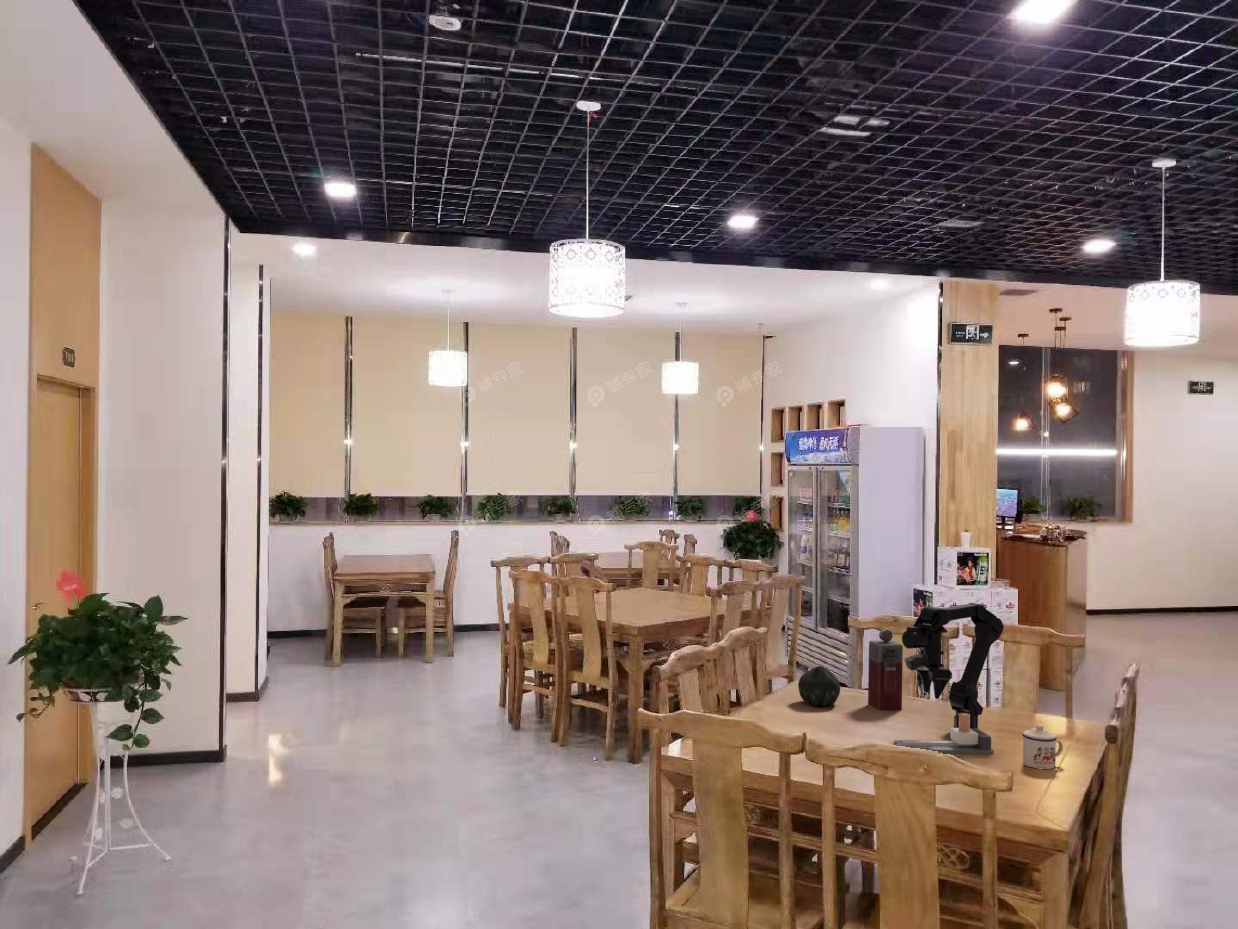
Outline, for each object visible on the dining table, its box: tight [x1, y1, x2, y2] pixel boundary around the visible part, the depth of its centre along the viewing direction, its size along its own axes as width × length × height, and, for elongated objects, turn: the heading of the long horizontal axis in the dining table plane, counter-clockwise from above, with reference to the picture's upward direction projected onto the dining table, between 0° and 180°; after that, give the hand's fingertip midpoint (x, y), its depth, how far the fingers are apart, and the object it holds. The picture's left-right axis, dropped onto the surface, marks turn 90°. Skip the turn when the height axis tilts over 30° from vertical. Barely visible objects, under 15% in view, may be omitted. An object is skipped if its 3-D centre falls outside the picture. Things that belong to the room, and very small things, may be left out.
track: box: [893, 727, 994, 755], centre depth 290 cm, size 27×10×5 cm, turn 92°
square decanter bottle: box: [867, 628, 904, 712], centre depth 340 cm, size 9×11×28 cm
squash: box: [797, 665, 841, 707], centre depth 344 cm, size 14×15×15 cm
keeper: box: [949, 713, 978, 744], centre depth 291 cm, size 6×6×8 cm
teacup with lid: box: [1022, 724, 1064, 770], centre depth 275 cm, size 12×9×12 cm
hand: (931, 695), depth 305 cm, fingers open, 9 cm apart
